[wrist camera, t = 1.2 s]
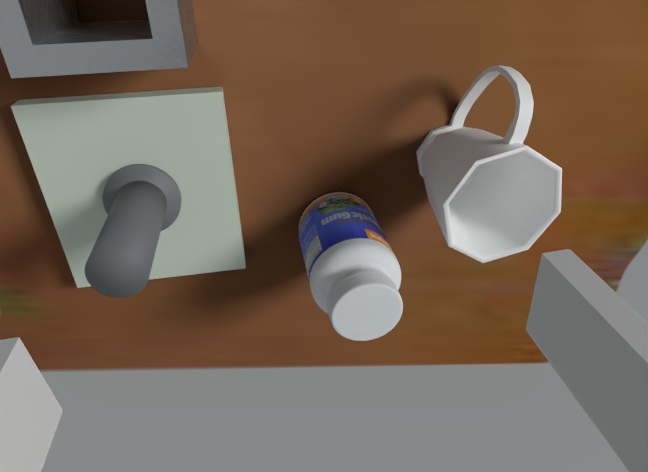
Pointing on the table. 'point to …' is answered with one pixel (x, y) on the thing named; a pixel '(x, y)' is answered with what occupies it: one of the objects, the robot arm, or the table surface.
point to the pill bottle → (350, 266)
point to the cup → (489, 178)
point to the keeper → (136, 184)
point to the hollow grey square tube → (93, 39)
